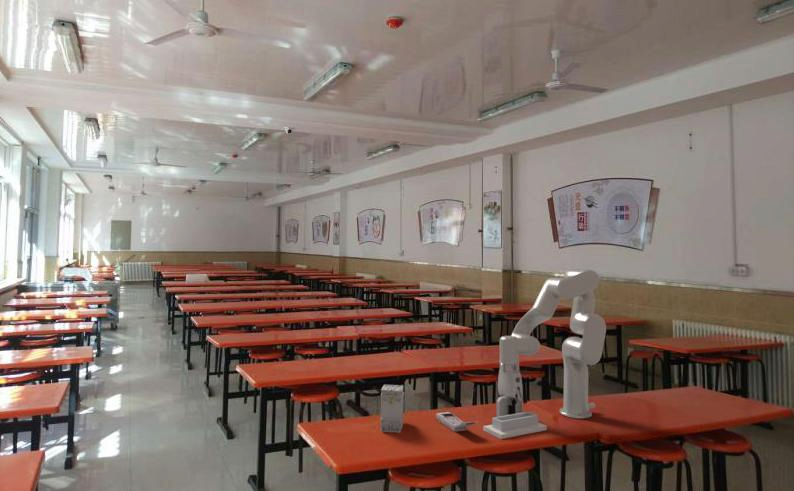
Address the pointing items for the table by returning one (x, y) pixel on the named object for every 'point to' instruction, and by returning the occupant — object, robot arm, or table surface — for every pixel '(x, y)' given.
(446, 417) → the mobile phone
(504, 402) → the grey flat plate
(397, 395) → the circuit breaker
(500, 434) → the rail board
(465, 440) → the table surface
